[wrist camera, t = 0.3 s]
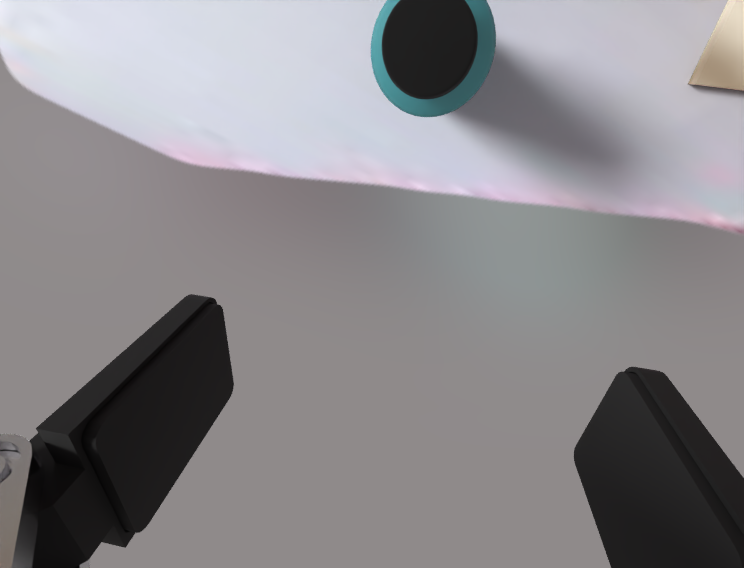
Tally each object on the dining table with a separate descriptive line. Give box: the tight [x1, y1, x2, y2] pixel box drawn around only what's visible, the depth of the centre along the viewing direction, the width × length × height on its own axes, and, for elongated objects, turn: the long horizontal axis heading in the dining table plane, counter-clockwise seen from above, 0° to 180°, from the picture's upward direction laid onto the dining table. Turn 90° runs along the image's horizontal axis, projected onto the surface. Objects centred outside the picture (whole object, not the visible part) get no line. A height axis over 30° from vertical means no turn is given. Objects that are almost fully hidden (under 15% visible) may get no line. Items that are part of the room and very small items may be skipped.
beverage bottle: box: [371, 0, 496, 117], centre depth 23 cm, size 6×7×20 cm
